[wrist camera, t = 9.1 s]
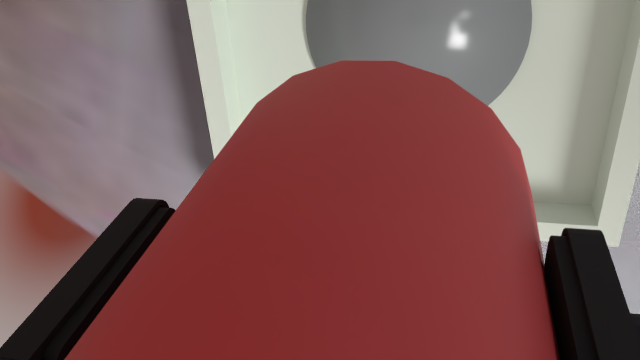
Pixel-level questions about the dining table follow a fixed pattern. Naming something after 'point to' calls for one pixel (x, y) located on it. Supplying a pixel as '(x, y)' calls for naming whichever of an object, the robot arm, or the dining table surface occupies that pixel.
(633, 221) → the dining table surface
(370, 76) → the beer can
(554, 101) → the coaster tray
